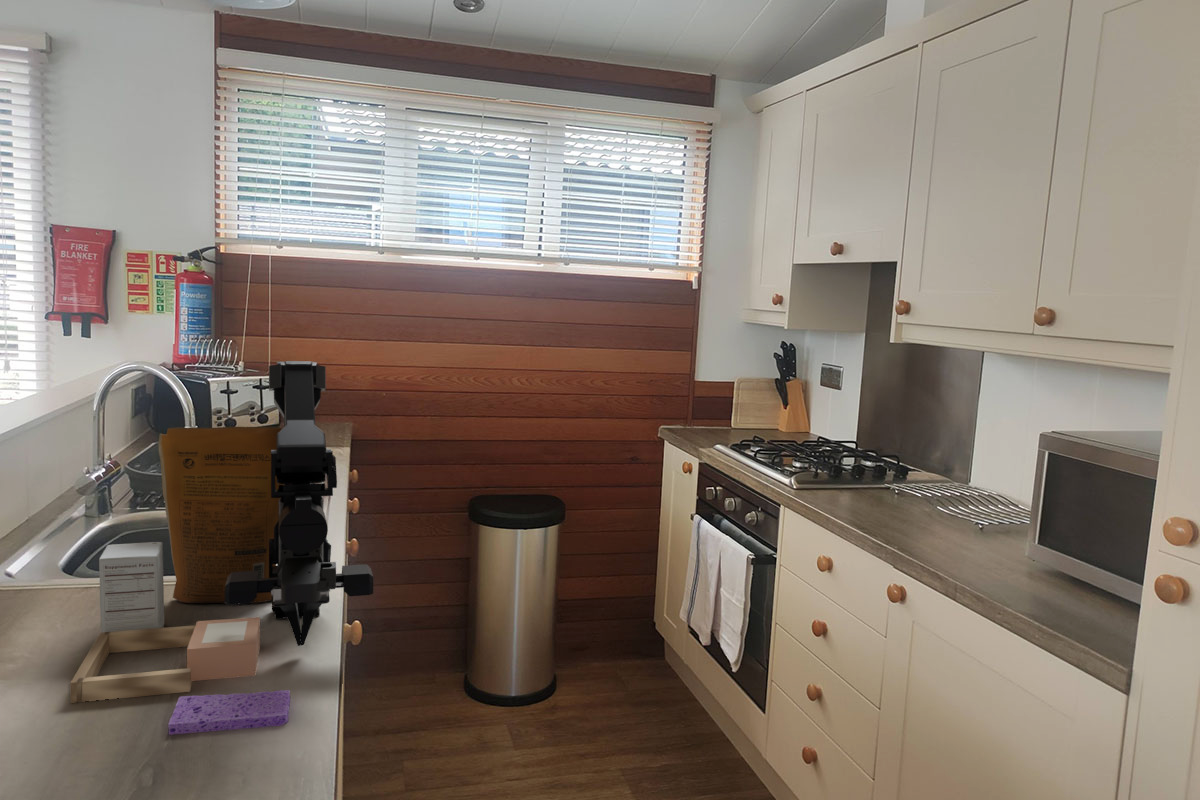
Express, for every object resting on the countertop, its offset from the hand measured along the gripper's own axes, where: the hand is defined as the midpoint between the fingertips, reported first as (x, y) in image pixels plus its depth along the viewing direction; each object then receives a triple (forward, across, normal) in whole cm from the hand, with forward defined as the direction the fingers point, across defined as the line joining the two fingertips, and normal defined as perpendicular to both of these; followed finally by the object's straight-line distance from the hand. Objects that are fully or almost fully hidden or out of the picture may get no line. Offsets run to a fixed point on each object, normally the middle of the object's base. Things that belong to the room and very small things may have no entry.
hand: (300, 644), depth 118 cm
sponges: (+2, -8, -16) cm, 18 cm away
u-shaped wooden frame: (+2, -19, 0) cm, 19 cm away
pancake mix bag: (+2, -12, +25) cm, 28 cm away
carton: (+2, -10, 0) cm, 10 cm away
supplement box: (+2, -22, +13) cm, 26 cm away
